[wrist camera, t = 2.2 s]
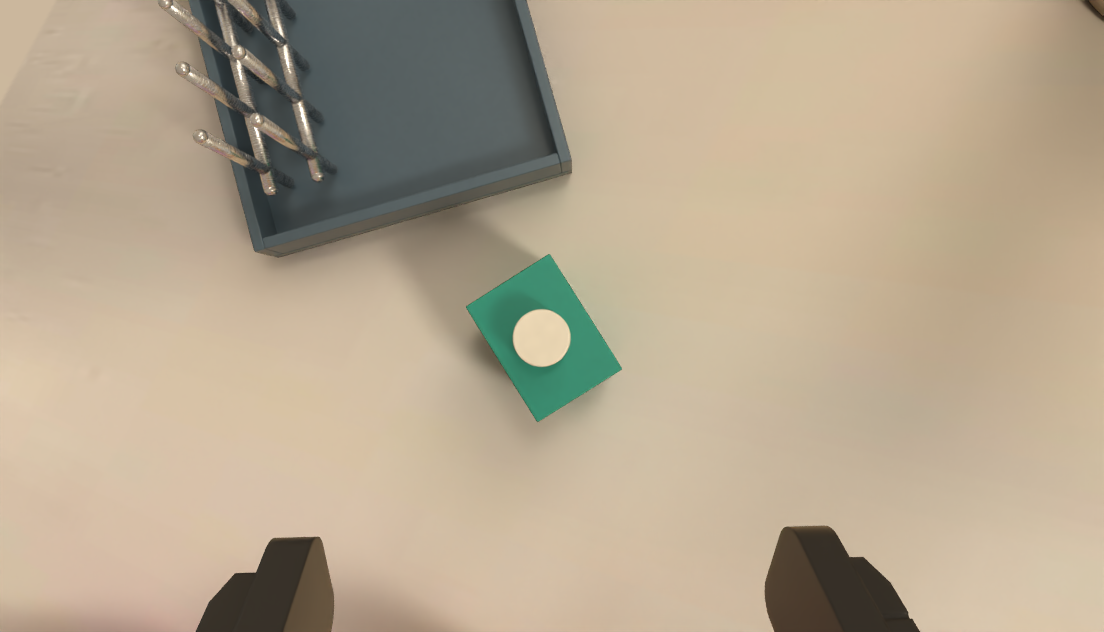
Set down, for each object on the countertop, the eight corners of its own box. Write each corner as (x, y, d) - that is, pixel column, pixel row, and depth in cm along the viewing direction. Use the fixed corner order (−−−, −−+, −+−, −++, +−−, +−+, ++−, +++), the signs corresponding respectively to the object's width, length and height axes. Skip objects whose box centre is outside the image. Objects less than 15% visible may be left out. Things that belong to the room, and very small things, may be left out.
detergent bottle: (555, 269, 35) (547, 249, 26) (613, 361, 34) (625, 371, 26) (488, 312, 35) (458, 305, 26) (545, 404, 35) (534, 427, 26)
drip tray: (480, -152, 36) (472, -190, 33) (572, 172, 35) (571, 159, 32) (193, -63, 36) (163, -94, 34) (277, 258, 35) (254, 252, 33)
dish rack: (278, -59, 35) (181, -186, 27) (346, 192, 35) (269, 146, 26) (224, -42, 35) (110, -163, 27) (291, 208, 35) (196, 167, 26)
